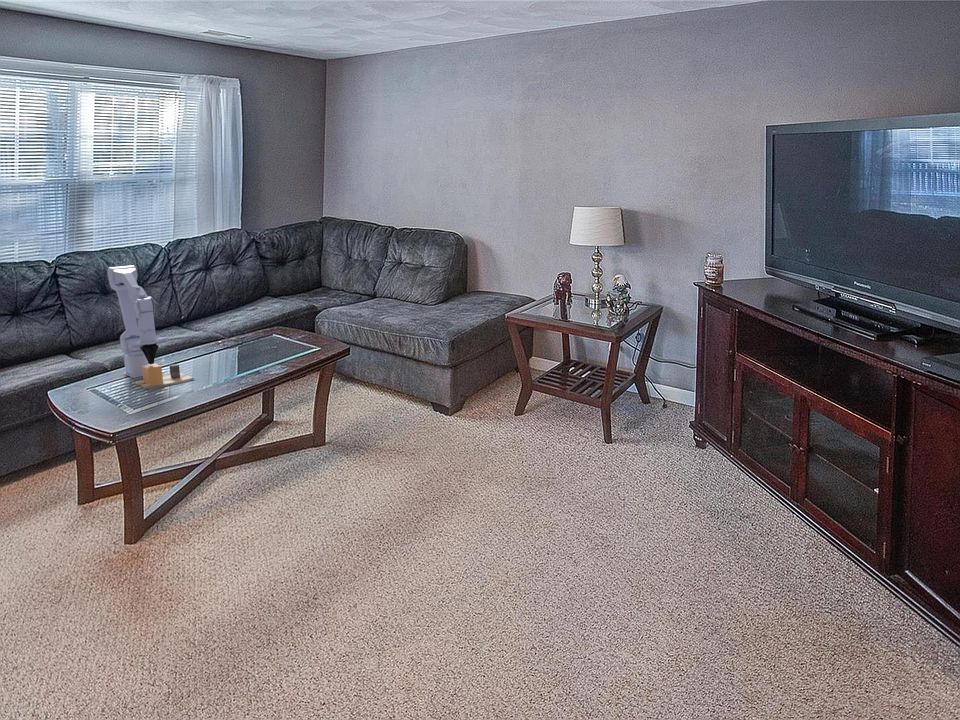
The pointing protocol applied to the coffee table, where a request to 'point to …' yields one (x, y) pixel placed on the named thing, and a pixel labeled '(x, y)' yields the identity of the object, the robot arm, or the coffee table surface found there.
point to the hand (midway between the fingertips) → (151, 363)
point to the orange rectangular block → (152, 374)
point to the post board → (168, 379)
